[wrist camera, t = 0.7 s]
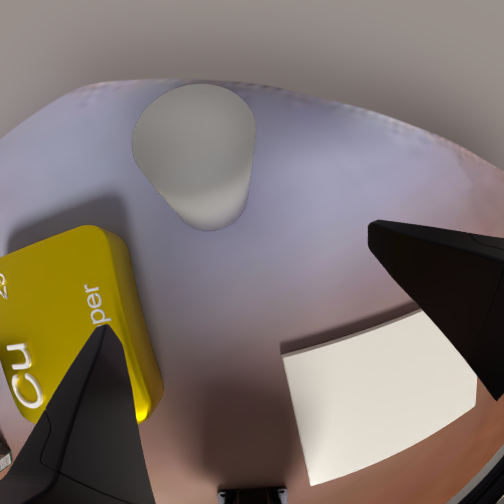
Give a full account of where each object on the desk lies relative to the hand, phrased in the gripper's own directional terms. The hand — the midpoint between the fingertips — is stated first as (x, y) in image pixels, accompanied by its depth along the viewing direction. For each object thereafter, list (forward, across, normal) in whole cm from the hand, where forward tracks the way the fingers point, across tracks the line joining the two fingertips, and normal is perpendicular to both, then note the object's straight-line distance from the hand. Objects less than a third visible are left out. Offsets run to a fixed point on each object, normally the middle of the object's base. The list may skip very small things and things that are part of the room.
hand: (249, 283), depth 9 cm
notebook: (+1, -11, +19) cm, 22 cm away
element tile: (+13, +14, +8) cm, 21 cm away
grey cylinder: (+15, -2, +2) cm, 15 cm away
